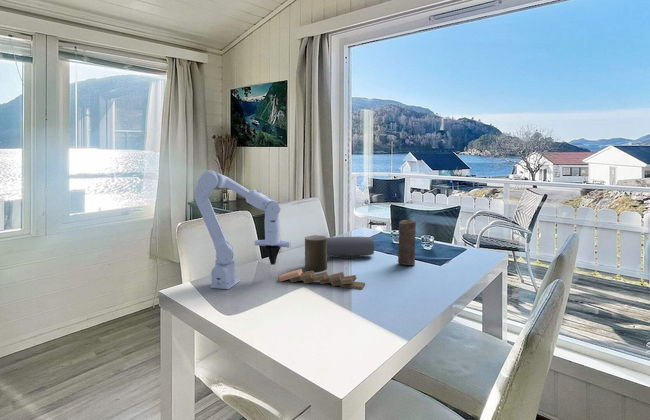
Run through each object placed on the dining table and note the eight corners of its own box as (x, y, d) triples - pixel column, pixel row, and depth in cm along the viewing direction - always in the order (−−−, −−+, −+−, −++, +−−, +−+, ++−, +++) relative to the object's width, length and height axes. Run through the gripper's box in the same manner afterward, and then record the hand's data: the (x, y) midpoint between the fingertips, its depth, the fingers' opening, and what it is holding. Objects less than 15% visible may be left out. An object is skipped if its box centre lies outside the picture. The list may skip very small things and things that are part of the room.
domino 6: (340, 288, 142) (362, 290, 139) (340, 284, 141) (362, 286, 139) (343, 284, 146) (365, 286, 143) (343, 280, 146) (365, 282, 143)
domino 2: (291, 282, 146) (311, 278, 144) (290, 278, 146) (310, 274, 144) (294, 278, 151) (314, 274, 149) (293, 274, 151) (313, 270, 148)
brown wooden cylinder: (410, 268, 162) (411, 222, 158) (394, 265, 166) (395, 221, 163) (417, 263, 168) (419, 220, 164) (402, 261, 172) (403, 218, 169)
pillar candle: (324, 272, 158) (324, 237, 156) (302, 270, 160) (302, 236, 157) (329, 265, 167) (329, 232, 165) (307, 264, 169) (307, 231, 167)
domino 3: (304, 283, 145) (325, 279, 143) (303, 280, 145) (323, 275, 143) (307, 279, 149) (327, 275, 147) (306, 276, 149) (326, 271, 147)
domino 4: (320, 284, 144) (340, 279, 141) (319, 280, 144) (339, 275, 141) (324, 280, 148) (344, 275, 145) (323, 276, 148) (342, 272, 145)
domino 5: (332, 286, 142) (352, 283, 138) (331, 282, 142) (350, 279, 138) (337, 281, 146) (356, 278, 142) (335, 278, 146) (355, 274, 142)
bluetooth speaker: (371, 254, 184) (371, 234, 182) (374, 259, 175) (374, 238, 173) (324, 254, 183) (324, 234, 182) (325, 260, 174) (325, 239, 173)
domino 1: (279, 281, 148) (299, 276, 145) (278, 277, 147) (297, 272, 145) (283, 277, 152) (302, 272, 150) (282, 273, 152) (301, 268, 150)
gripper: (293, 229, 149) (293, 262, 151) (259, 227, 153) (260, 259, 155) (287, 233, 142) (287, 267, 145) (251, 231, 146) (253, 264, 148)
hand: (273, 263), depth 149 cm, fingers closed
